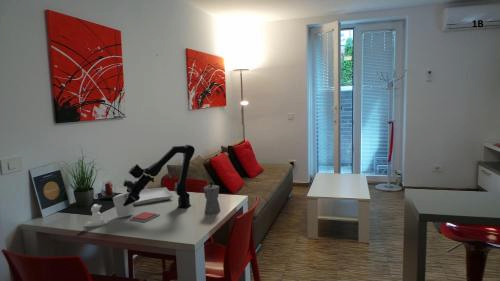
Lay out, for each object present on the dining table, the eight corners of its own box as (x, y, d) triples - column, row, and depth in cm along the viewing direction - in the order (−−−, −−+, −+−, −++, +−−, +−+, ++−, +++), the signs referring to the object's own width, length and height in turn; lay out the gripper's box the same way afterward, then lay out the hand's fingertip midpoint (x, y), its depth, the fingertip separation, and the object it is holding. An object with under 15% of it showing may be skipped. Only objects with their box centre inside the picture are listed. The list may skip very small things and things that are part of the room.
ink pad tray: (159, 215, 205) (159, 213, 205) (145, 222, 195) (145, 220, 195) (143, 213, 211) (143, 211, 210) (129, 220, 200) (129, 217, 200)
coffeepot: (222, 214, 203) (220, 184, 201) (206, 216, 201) (204, 185, 199) (218, 206, 218) (216, 178, 216) (203, 208, 216) (201, 179, 214)
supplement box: (129, 215, 203) (123, 195, 201) (118, 218, 204) (111, 198, 202) (135, 211, 210) (129, 191, 209) (124, 213, 211) (117, 194, 210)
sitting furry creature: (99, 221, 201) (97, 200, 199) (109, 223, 196) (107, 202, 195) (84, 226, 193) (82, 205, 191) (94, 228, 188) (92, 207, 187)
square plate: (127, 197, 250) (127, 192, 249) (165, 191, 261) (165, 186, 260) (131, 207, 225) (131, 201, 225) (174, 200, 237) (173, 194, 236)
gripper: (130, 171, 214) (111, 191, 212) (132, 178, 197) (112, 199, 194) (143, 183, 218) (126, 202, 216) (147, 190, 201) (128, 211, 199)
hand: (123, 203), depth 206 cm, fingers closed on supplement box, 9 cm apart
